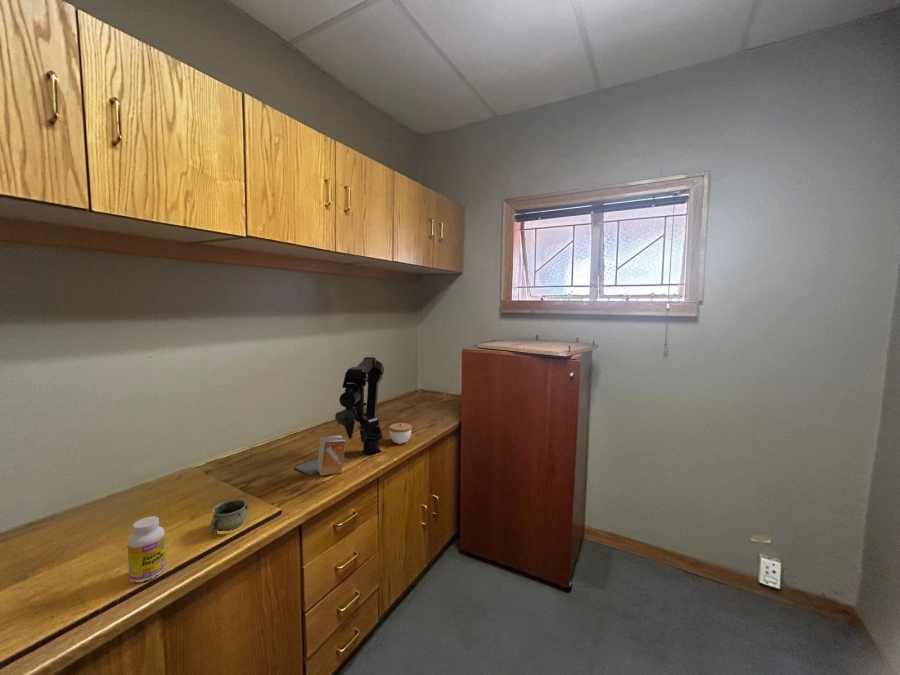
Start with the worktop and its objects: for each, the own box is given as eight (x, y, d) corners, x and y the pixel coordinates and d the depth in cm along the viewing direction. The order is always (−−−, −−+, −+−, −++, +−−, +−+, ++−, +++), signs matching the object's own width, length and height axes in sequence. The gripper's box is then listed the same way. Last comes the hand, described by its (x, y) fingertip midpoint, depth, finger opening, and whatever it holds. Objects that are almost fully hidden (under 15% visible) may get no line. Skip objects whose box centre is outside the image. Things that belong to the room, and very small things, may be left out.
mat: (332, 454, 157) (332, 452, 157) (348, 460, 150) (348, 458, 150) (294, 468, 142) (294, 467, 142) (311, 476, 136) (311, 474, 136)
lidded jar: (402, 447, 165) (402, 428, 165) (384, 443, 171) (384, 423, 170) (415, 440, 175) (416, 422, 174) (399, 436, 180) (399, 418, 180)
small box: (320, 476, 134) (324, 442, 133) (316, 469, 139) (320, 436, 139) (342, 473, 139) (345, 440, 138) (337, 466, 144) (340, 435, 143)
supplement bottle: (140, 588, 80) (137, 533, 79) (122, 579, 83) (119, 526, 82) (172, 568, 86) (170, 517, 85) (155, 561, 89) (153, 511, 88)
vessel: (222, 543, 96) (221, 520, 96) (198, 536, 99) (197, 514, 99) (259, 518, 108) (258, 498, 107) (236, 513, 110) (236, 493, 110)
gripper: (323, 401, 135) (323, 441, 137) (356, 409, 125) (356, 452, 126) (346, 395, 145) (347, 433, 146) (379, 403, 134) (379, 443, 135)
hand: (356, 440), depth 138 cm, fingers open, 7 cm apart
